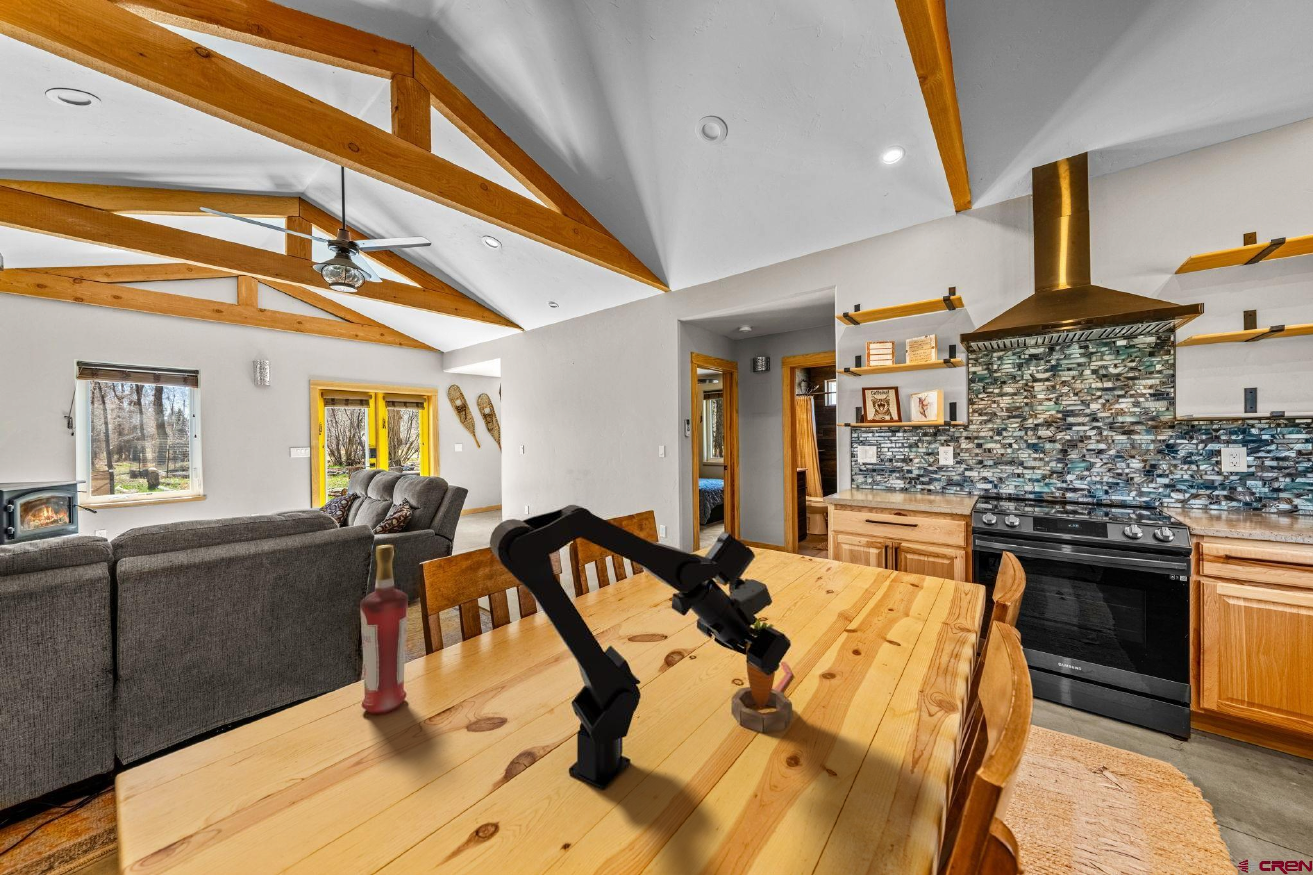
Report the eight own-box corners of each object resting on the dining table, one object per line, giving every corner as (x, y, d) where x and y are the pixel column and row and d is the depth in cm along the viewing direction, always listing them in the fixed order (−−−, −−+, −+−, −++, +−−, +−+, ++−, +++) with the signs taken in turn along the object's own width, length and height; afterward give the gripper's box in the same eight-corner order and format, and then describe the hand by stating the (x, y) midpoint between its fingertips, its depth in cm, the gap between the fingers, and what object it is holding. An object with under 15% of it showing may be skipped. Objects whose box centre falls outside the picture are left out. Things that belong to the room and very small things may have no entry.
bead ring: (780, 738, 77) (780, 722, 77) (724, 720, 81) (724, 705, 81) (796, 710, 85) (796, 695, 85) (745, 695, 89) (745, 681, 89)
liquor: (356, 705, 86) (356, 545, 86) (402, 691, 91) (402, 540, 91) (364, 724, 80) (364, 553, 80) (412, 708, 85) (413, 547, 85)
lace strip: (772, 703, 87) (772, 701, 87) (754, 698, 88) (754, 695, 88) (798, 667, 100) (798, 664, 100) (781, 663, 102) (781, 660, 102)
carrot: (748, 698, 86) (748, 613, 86) (776, 703, 84) (777, 616, 85) (743, 713, 81) (744, 622, 82) (773, 719, 80) (774, 627, 80)
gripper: (781, 582, 73) (834, 642, 78) (711, 555, 89) (758, 607, 95) (738, 644, 69) (796, 704, 74) (673, 604, 86) (724, 655, 91)
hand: (767, 662), depth 84 cm, fingers closed on carrot, 5 cm apart
